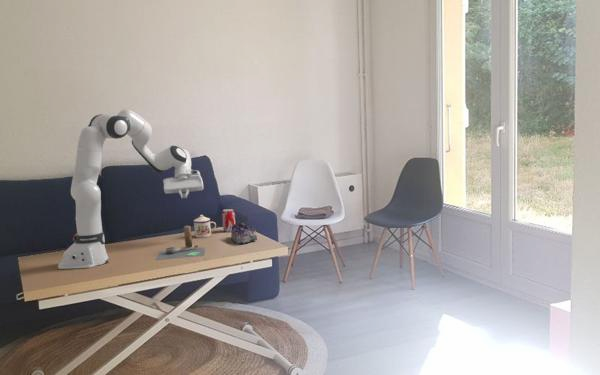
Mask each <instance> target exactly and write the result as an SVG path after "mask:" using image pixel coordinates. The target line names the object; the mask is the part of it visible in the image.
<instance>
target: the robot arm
mask: <svg viewBox="0 0 600 375" xmlns="http://www.w3.org/2000/svg"><path fill="white" fill-rule="evenodd" d="M152 134H153V127H152V125H151V123H149V121H148V120H146V119H145V118H144V117H142V116H141V115H140V114H138V113H137V112H135V111H133V110H131V109H128V108H124V109H121V110H120V111H119V112H118V114H117V115H115V114H111V113H107V114H104V113H102V114H101V113H100V114H96V115H94V116H93V117H92V118H91V119H90V121H89V124H88V125H87V126H85V127H83V128H82V130H81V131H80V134H79V138H78V141H77V142H78V143H77V148H76V149H77V150H76V155H75V156H76V159H75V166H74V170H73V175H72V179H71V186H70V195H71V198H72V199H73V200H74V202H75V224H76V225H75V226H76V233H75V234H74V236H73V237H72V241H73V243H72V244H71V245H70V246H68V248H67V249H66V250H65V251H64V252H63V255H62V260H61V262H59V263H58V264H57V269H58V270H65V269H67V270H69V269H70V270H71V269H90V268H93V267H96V266H100V265H103V264H104V265H105V264H106V263H108V262H109V261H108V259H109V255H108V253H107V250H106V246H105V242H106V241H105V233H104V231H103V225H102V224H103V222H102V214H101V212H102V200H101V199H102V198H101V196H102V195H101V188H100V187H99V185H98V178H99V175H100V172H101V169H102V160H103V150H104V143H105V141H106V139H115V140H116V139H122V138H123V137H125V136H126V135H127V136H128V137H130V138H131V145H132V147H133V148H134V150H136V152H137V153H138V154H139V156H141V157H142V159H143V160H144V161H146V163H147V164H148V166H149V167H150V169H151V170H152V171H153V172H155V173H157V174H163V173H164V172H166V171H168V170H169V169H171V168H172V167H174V168H175V169H174V176H170V177H166V178H164V179H163V180H162V183H163V192H164V194H177V193H178V194H179V195H180V197H181V199H188V196H189V194H190V192H198V191H199V192H200V191H203V190H204V189H205V188H204V181H203V178H202V176H201V172H200V171H199V170H197V169H195V170H194V169H192V159H191V158H192V157H191V154H190V152H189V151H188V150H187V149H184V148H181V147H179V146H177V145H171V146H168V147H167V148H165V149H164V150H162V151H159V152H158V153H153V152H152V150H151V149H150V148H149V147H148V146H147V144H148V143H149V141H150V140H151V138H152Z"/></svg>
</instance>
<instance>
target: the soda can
mask: <svg viewBox="0 0 600 375" xmlns="http://www.w3.org/2000/svg"><path fill="white" fill-rule="evenodd" d="M221 220H222V230H223V231H224V232H226V233H231V231H232V228H231V226H233V224H235V223H236V214H235V211H234V208H228V209H227V208H226V209H223V210H222V213H221Z"/></svg>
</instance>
